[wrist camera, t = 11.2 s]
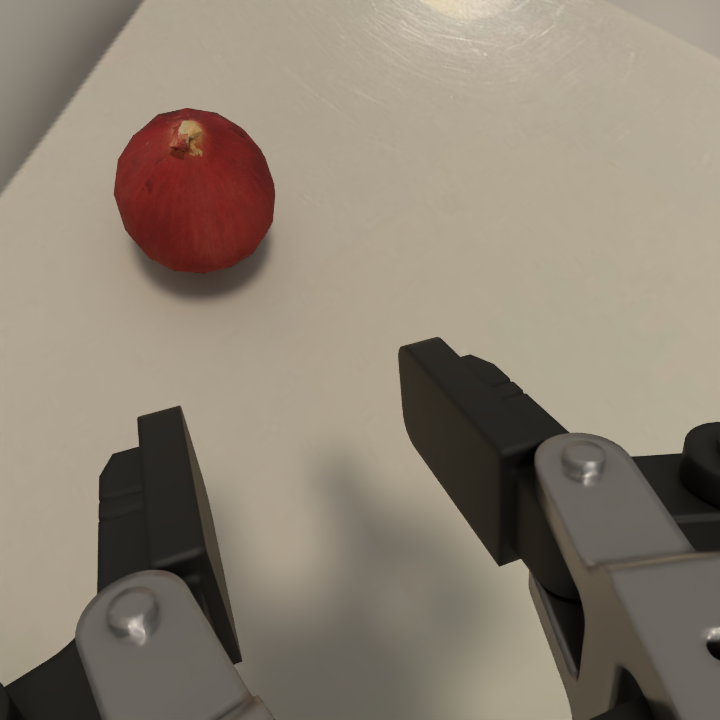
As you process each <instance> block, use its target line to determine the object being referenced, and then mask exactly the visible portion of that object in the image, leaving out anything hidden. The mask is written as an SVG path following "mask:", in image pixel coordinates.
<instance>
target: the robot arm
mask: <svg viewBox="0 0 720 720" xmlns="http://www.w3.org/2000/svg"><path fill="white" fill-rule="evenodd" d="M398 361H399V373H400V384H401V396H402V408H403V417H404V422H405V426H406V430H407V433H408V435H409V438H410V440H411V442H412V444H413V445H414V447H415V448H416V450H417V451H418V453H419V454H420V455H421V457H422V458H423V460H424V461H425V463H426V464H427V465H428V467H429V468H430V470H431V471H432V472H433V474H434V475H435V477H436V478H437V480H438V481H439V482H440V484H441V485H442V487H443V488H444V489H445V491H446V492H447V494H448V495H449V496H450V498H451V499H452V501H453V502H454V504H455V505H456V506H457V508H458V509H459V511H460V512H461V513H462V515H463V516H464V518H465V519H466V520H467V522H468V523H469V525H470V526H471V528H472V529H473V530H474V532H475V533H476V535H477V536H478V537H479V539H480V540H481V542H482V543H483V544H484V546H485V547H486V549H487V550H488V552H489V553H490V554H491V556H492V557H493V559H494V560H495V561H496V563H497V564H498V566H499V567H500V566H502V565H505V564H508V563H510V562H513V561H516V560H518V559H522V561H523V562H524V563H525V565H526V566H527V567H528V569H529V591H530V594H531V597H532V600H533V602H534V605H535V608H536V611H537V613H538V616H539V619H540V622H541V624H542V627H543V630H544V633H545V635H546V638H547V641H548V644H549V646H550V649H551V652H552V655H553V657H554V660H555V663H556V666H557V668H558V671H559V674H560V677H561V679H562V682H563V685H564V688H565V690H566V693H567V697H568V700H569V704H570V708H571V714H572V720H720V422H713V423H706V424H702V425H700V426H697V427H695V428H693V429H692V430H691V431H690V432H689V433H688V434H687V436H686V438H685V442H684V447H683V452H682V453H680V454H666V455H652V456H634V457H630V455H629V454H628V453H627V452H626V451H625V450H624V449H623V448H622V447H621V446H619V445H618V444H616V443H614V442H613V441H610V440H608V439H606V438H603V437H600V436H597V435H592V434H586V433H569V432H568V431H567V430H566V429H565V428H564V427H563V426H561V425H560V424H559V423H558V422H557V421H556V420H555V419H554V418H553V417H552V416H550V415H549V414H548V413H547V412H546V411H545V410H544V409H543V408H542V407H541V406H539V405H538V404H537V403H536V402H535V401H534V400H533V399H532V398H531V397H530V396H528V395H527V394H524V393H523V390H522V389H521V388H520V387H519V386H517V385H516V384H515V383H514V382H511V381H510V378H509V377H507V376H506V375H505V374H504V373H503V372H502V371H501V370H500V369H499V368H498V367H496V366H495V365H494V364H492V363H490V362H487V361H485V360H483V359H480V358H478V357H475V356H473V355H471V354H470V355H466V356H463V357H459V356H458V355H457V354H456V353H455V352H454V351H453V350H452V349H451V348H450V347H449V346H448V345H447V344H446V343H445V342H444V341H443V340H442V339H441V338H439V337H435V338H431V339H427V340H424V341H420V342H416V343H413V344H409V345H405V346H402V347H400V349H399V353H398ZM137 422H138V436H139V447H136V448H132V449H129V450H125V451H122V452H118V453H114V454H112V456H111V458H110V459H109V461H108V463H107V465H106V466H105V468H104V470H103V471H102V473H101V475H100V477H99V501H100V503H99V521H100V522H99V525H98V582H97V595H96V596H95V597H94V598H93V599H92V600H91V601H90V603H89V604H88V605H87V606H86V608H85V609H84V611H83V613H82V614H81V616H80V619H79V621H78V624H77V628H76V633H75V638H74V639H73V640H72V641H71V642H70V643H69V644H68V645H67V646H66V647H65V648H63V649H62V650H61V651H60V652H59V653H57V654H56V655H54V656H53V657H52V658H50V659H49V660H47V661H46V662H44V663H42V664H41V665H39V666H38V667H36V668H34V669H33V670H31V671H30V672H28V673H26V674H25V675H23V676H22V677H20V678H18V679H17V680H15V681H13V682H12V683H10V684H9V685H7V686H5V687H4V686H3V685H2V684H1V683H0V720H275V719H274V718H273V716H272V714H271V713H270V711H269V710H268V708H267V707H266V705H265V704H264V702H263V701H262V700H261V699H260V697H258V696H257V695H256V696H254V697H253V696H252V695H251V693H250V692H249V690H248V689H247V687H246V686H245V684H244V682H243V680H242V679H241V677H240V675H239V674H238V672H237V670H236V668H235V667H234V664H236V663H239V662H242V658H241V653H240V648H239V643H238V638H237V634H236V629H235V624H234V619H233V614H232V610H231V605H230V600H229V595H228V590H227V586H226V581H225V576H224V571H223V566H222V562H221V557H220V552H219V547H218V542H217V537H216V533H215V528H214V523H213V518H212V513H211V509H210V504H209V500H208V496H207V492H206V488H205V484H204V481H203V477H202V474H201V470H200V467H199V464H198V461H197V457H196V454H195V451H194V447H193V444H192V441H191V437H190V434H189V431H188V427H187V424H186V421H185V418H184V414H183V411H182V408H181V406H176V407H173V408H169V409H165V410H162V411H158V412H154V413H150V414H147V415H143V416H139V417H138V418H137Z"/></svg>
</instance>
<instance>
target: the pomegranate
mask: <svg viewBox="0 0 720 720" xmlns="http://www.w3.org/2000/svg"><path fill="white" fill-rule="evenodd" d="M114 196H115V199H116V202H117V206H118V209H119V212H120V215H121V218H122V221H123V224H124V227H125V230H126V231H127V232H128V234H129V235H130V236H131V237H132V239H133V240H134V241H135V242H136V243H137V244H138V246H139V247H140V248H141V249H142V250H143V251H144V252H145V253H146V255H147V256H148V257H149V258H150V259H152V260H154V261H156V262H158V263H160V264H162V265H164V266H166V267H168V268H170V269H172V270H174V271H181V272H193V273H202V274H204V273H208V272H212V271H216V270H220V269H224V268H228V267H232V266H233V265H235V264H236V263H238V262H239V261H241V260H243V259H244V258H246V257H247V256H249V255H250V254H252V253H253V252H254V251H255V249H256V248H257V246H258V245H259V243H260V242H261V240H262V239H263V237H264V236H265V234H266V233H267V231H268V229H269V228H270V226H271V224H272V222H273V212H274V202H275V189H274V183H273V180H272V177H271V174H270V171H269V168H268V165H267V162H266V159H265V157H264V155H263V153H262V151H261V149H260V148H259V147H258V146H257V145H256V144H255V142H254V141H253V140H252V139H251V138H250V136H249V135H248V134H247V133H246V132H245V131H244V130H243V129H242V128H241V127H239V126H238V125H236V124H235V123H233V122H231V121H229V120H228V119H226V118H224V117H223V116H221V115H219V114H218V113H214V112H208V111H202V110H196V109H190V108H185V109H181V110H176V111H172V112H167V113H162V114H158V115H157V116H156V117H155V118H154V119H152V120H151V121H150V122H149V123H148V124H147V125H146V126H144V127H143V128H142V129H141V130H140V131H139V132H137V133H136V134H135V135H133V137H132V138H131V140H130V141H129V143H128V145H127V146H126V148H125V149H124V151H123V153H122V154H121V156H120V157H119V159H118V164H117V172H116V180H115V188H114Z"/></svg>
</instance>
